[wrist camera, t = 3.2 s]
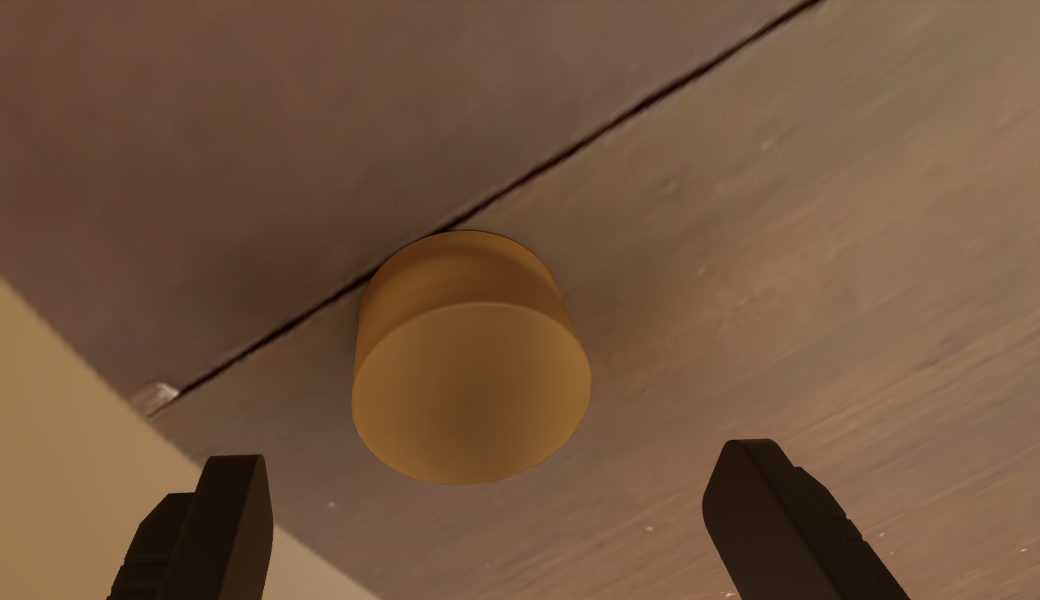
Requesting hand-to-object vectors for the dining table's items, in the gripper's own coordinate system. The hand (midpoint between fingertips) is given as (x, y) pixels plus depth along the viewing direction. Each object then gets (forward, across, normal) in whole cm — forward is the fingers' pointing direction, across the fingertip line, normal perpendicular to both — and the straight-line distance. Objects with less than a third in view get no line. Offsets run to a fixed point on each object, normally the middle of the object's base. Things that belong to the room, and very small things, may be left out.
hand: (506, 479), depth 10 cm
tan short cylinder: (+5, 0, 0) cm, 5 cm away
